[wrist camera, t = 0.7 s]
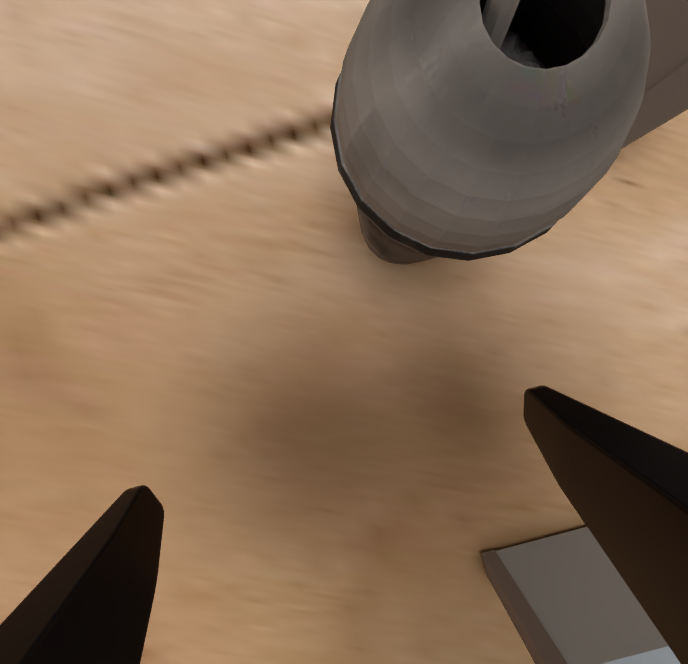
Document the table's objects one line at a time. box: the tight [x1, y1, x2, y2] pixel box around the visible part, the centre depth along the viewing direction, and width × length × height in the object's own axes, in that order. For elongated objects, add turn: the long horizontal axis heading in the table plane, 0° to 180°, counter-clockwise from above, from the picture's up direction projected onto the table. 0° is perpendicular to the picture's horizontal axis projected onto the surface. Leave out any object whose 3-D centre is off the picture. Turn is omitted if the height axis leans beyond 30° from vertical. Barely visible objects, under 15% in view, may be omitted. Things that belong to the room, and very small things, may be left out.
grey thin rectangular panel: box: [481, 527, 681, 664], centre depth 18 cm, size 17×1×8 cm, turn 105°
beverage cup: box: [330, 0, 651, 264], centre depth 12 cm, size 7×7×20 cm
